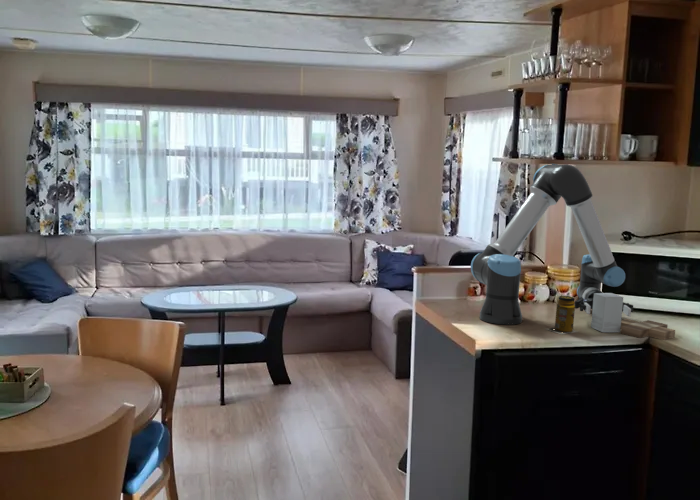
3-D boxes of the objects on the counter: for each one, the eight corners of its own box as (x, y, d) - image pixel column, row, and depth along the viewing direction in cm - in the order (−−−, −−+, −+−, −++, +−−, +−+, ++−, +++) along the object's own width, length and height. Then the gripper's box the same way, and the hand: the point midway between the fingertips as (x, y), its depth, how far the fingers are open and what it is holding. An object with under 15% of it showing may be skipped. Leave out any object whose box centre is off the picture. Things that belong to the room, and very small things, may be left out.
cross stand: (655, 342, 215) (656, 334, 214) (606, 329, 229) (606, 322, 229) (682, 335, 226) (683, 327, 225) (633, 323, 240) (634, 316, 239)
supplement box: (621, 332, 226) (624, 296, 224) (601, 332, 225) (604, 297, 223) (609, 327, 233) (612, 292, 232) (590, 327, 232) (593, 292, 230)
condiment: (578, 332, 225) (581, 298, 223) (562, 334, 220) (565, 300, 218) (561, 327, 231) (563, 294, 229) (545, 329, 226) (547, 296, 224)
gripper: (628, 310, 247) (645, 324, 226) (560, 306, 250) (571, 319, 229) (629, 291, 245) (647, 303, 225) (562, 287, 249) (573, 298, 228)
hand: (609, 311), depth 227 cm, fingers open, 13 cm apart
